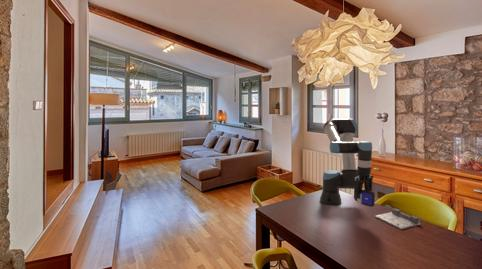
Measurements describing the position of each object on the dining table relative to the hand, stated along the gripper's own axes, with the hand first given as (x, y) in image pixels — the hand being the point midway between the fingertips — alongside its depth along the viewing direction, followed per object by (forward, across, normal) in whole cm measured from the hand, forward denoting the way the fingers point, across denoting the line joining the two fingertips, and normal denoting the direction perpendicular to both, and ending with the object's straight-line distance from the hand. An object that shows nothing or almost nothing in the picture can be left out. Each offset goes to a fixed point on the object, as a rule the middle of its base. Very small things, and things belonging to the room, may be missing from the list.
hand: (362, 202), depth 163 cm
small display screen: (+1, +1, 0) cm, 2 cm away
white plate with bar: (+11, +19, -10) cm, 24 cm away
